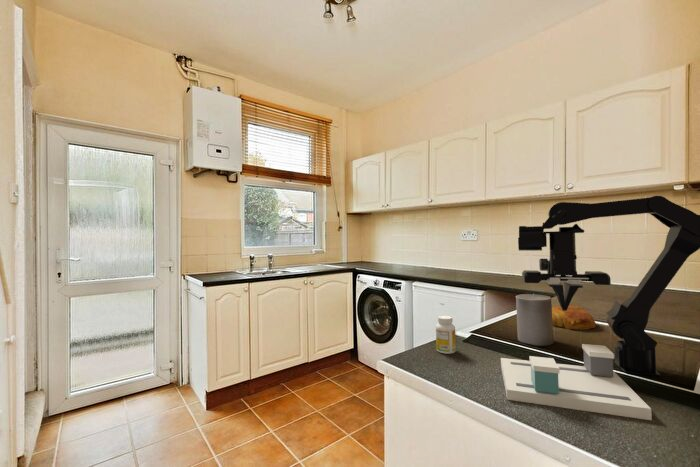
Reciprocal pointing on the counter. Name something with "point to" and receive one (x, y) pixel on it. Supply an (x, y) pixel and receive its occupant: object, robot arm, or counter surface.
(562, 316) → the croissant
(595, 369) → the grey and white slider
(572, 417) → the counter surface
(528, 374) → the slotted slider plate
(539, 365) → the teal knob
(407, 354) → the counter surface
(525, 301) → the pillar candle
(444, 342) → the supplement bottle
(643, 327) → the robot arm
